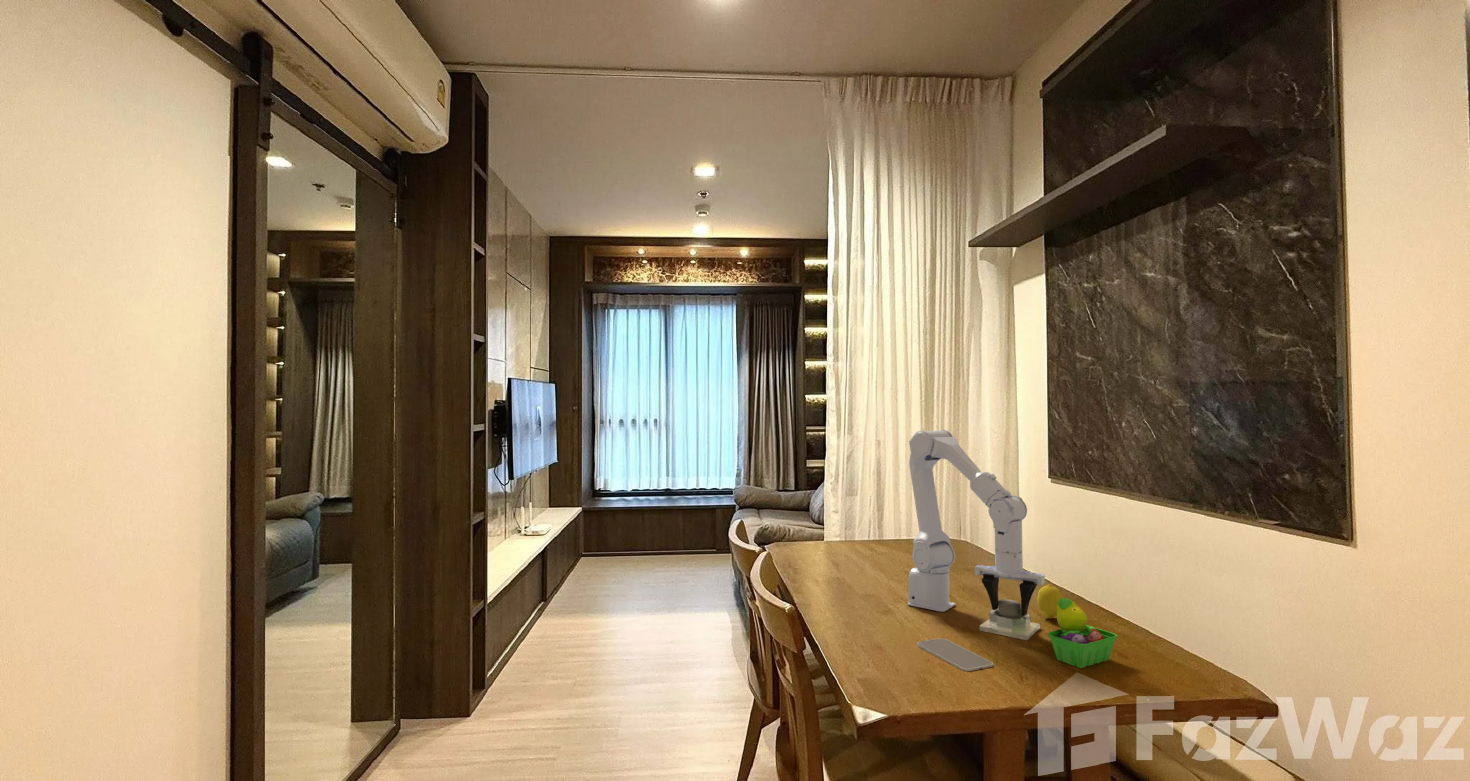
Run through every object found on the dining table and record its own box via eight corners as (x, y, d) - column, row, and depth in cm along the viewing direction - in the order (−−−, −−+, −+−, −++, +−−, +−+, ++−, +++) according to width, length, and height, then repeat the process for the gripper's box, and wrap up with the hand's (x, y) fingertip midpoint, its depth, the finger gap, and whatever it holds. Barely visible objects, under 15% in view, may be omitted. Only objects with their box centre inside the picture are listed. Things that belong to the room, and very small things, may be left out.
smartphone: (965, 669, 121) (914, 642, 135) (965, 674, 121) (914, 646, 135) (995, 663, 124) (943, 637, 138) (996, 668, 124) (943, 641, 137)
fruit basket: (1082, 672, 121) (1081, 611, 121) (1041, 656, 128) (1040, 599, 129) (1119, 661, 126) (1118, 603, 126) (1077, 646, 134) (1076, 591, 134)
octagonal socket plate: (979, 630, 144) (979, 614, 144) (994, 619, 151) (994, 604, 151) (1027, 640, 137) (1026, 623, 137) (1039, 628, 145) (1039, 612, 145)
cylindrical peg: (995, 625, 144) (995, 601, 144) (1002, 620, 148) (1002, 597, 148) (1017, 629, 141) (1016, 605, 141) (1023, 624, 145) (1023, 601, 145)
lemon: (1057, 614, 154) (1057, 581, 155) (1067, 622, 149) (1066, 587, 149) (1033, 614, 155) (1033, 580, 155) (1042, 621, 149) (1041, 586, 150)
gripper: (969, 549, 146) (970, 609, 146) (1038, 558, 137) (1039, 622, 137) (980, 544, 152) (981, 602, 151) (1046, 552, 143) (1047, 614, 142)
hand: (1009, 611), depth 144 cm, fingers open, 6 cm apart
